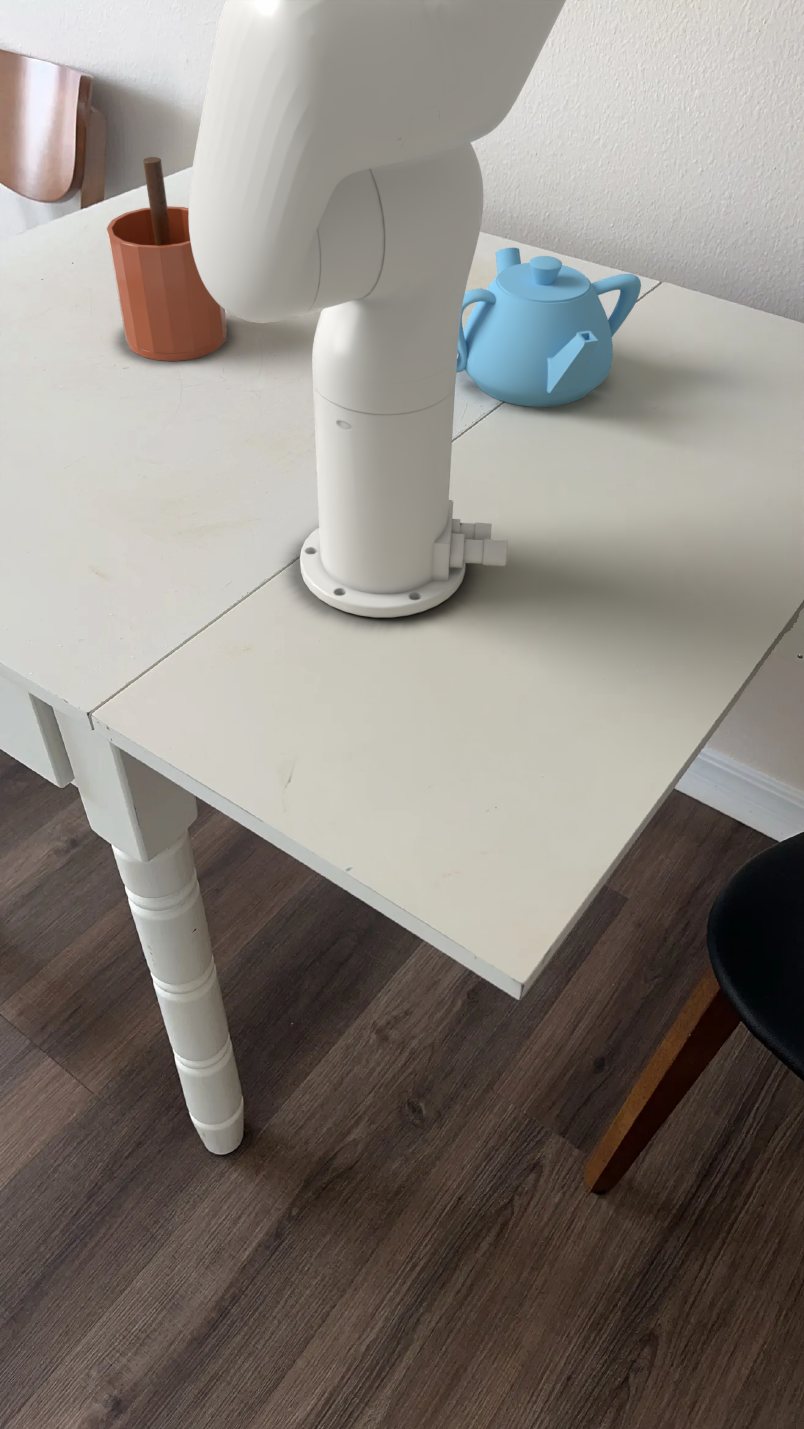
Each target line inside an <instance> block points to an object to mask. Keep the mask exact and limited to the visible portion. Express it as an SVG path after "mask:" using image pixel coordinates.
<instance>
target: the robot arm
mask: <svg viewBox="0 0 804 1429" xmlns="http://www.w3.org/2000/svg"><path fill="white" fill-rule="evenodd" d="M566 1H567V0H225V2H224V3H223V7H222V9H221V12H220V15H219V19H218V23H217V28H216V31H215V32H216V33H215V38H214V42H213V48H212V53H211V60H210V64H209V69H208V76H207V82H206V88H205V92H204V99H203V105H202V110H201V116H200V122H199V126H198V127H199V128H198V133H197V138H196V145H195V150H194V155H193V161H192V167H191V168H192V169H191V174H190V180H189V181H190V182H189V192H188V207H187V208H189V234H190V241H191V247H192V252H193V256H194V260H195V263H196V266H197V269H198V272H199V275H200V277H201V279H202V281H203V283H204V285H205V287H206V289H207V290H208V292H209V293H210V294H211V296H212V297H213V298H214V300H215V301H216V302H217V303H218V304H219V305H220V306H221V307H222V308H224V309H225V312H227V313H229V314H230V315H232V316H234V317H236V318H239V319H241V320H244V321H246V322H251V323H259V324H266V323H267V324H269V323H275V322H281V321H286V320H291V319H294V318H297V317H301V316H305V315H309V314H311V313H314V312H315V313H316V312H319V311H321V312H320V314H319V318H318V321H317V324H316V328H315V332H314V338H313V341H312V342H313V343H312V352H311V353H312V354H311V370H312V371H311V372H312V373H311V375H312V397H313V419H314V442H315V443H314V444H315V462H316V463H315V464H316V486H317V505H318V508H317V509H318V527H317V528H315V529H314V530H312V532H311V533H310V534H309V535H308V537H307V538H306V539H305V541H304V542H303V545H302V546H301V549H300V556H299V562H300V564H299V565H300V573H301V576H302V579H303V583H305V585H306V586H307V588H308V589H309V591H310V592H311V593H312V594H313V595H315V596H316V597H317V598H318V599H319V600H320V601H322V602H324V603H326V604H327V605H328V606H330V607H332V608H335V609H338V610H340V611H343V612H345V613H349V614H352V615H355V616H356V615H357V616H360V617H370V618H398V617H407V616H410V615H411V616H412V615H414V614H417V613H422V612H425V611H428V610H429V609H432V608H435V607H437V606H438V605H441V603H443V602H445V601H446V600H448V599H449V598H450V597H451V596H452V595H453V594H455V592H457V590H458V589H459V587H460V586H461V584H462V582H463V580H464V577H465V574H466V564H478V565H481V566H494V567H495V566H496V567H507V560H508V544H509V542H508V539H493V538H492V526H493V524H492V523H490V522H489V523H488V522H475V523H473V522H461V518H453V516H454V515H453V513H454V512H453V511H454V500H452V499H450V488H451V486H450V484H451V468H452V451H453V450H452V448H453V434H454V432H453V430H454V415H455V396H456V383H457V382H456V381H457V373H456V368H457V358H458V354H457V352H458V339H459V328H460V320H461V312H462V306H463V300H464V294H465V292H466V289H467V284H468V280H469V276H470V272H471V268H472V264H473V261H474V258H475V253H476V250H477V245H478V241H479V236H480V232H481V227H482V220H483V212H484V196H485V195H484V181H483V180H484V179H483V175H482V170H481V165H480V163H479V158H478V155H477V153H476V151H475V149H474V146H473V145H472V143H473V142H475V141H477V140H479V139H481V138H483V137H486V136H487V135H489V134H490V133H492V132H493V131H494V130H495V129H496V128H497V127H499V125H501V123H502V122H503V121H504V120H505V118H506V117H507V116H508V115H509V113H510V112H511V110H512V108H513V106H514V105H515V103H516V101H517V100H518V99H519V96H520V94H521V92H522V90H523V89H524V86H525V84H526V83H527V81H528V78H529V76H530V74H531V72H532V71H533V68H534V67H535V64H536V62H537V60H538V58H539V56H540V54H541V52H542V50H543V48H544V46H545V44H546V42H547V40H548V38H549V36H550V34H551V31H552V30H553V29H554V28H553V27H554V26H555V25H556V22H557V20H558V17H559V16H560V13H561V12H562V10H563V7H564V5H565V4H566ZM491 538H492V539H491Z"/></svg>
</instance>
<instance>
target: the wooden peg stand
mask: <svg viewBox="0 0 804 1429" xmlns="http://www.w3.org/2000/svg"><path fill="white" fill-rule="evenodd" d="M142 163H143V169H144V170H143V171H144V176H145V183H146V184H145V185H146V190H147V197H148V203H149V208H150V212H151V219H152V226H153V233H154V240H155V246H163V245H172V238H171V231H170V223H169V215H168V208H167V206H168V200H167V194H166V186H165V179H164V172H163V164H162V159H161V158H160V157H157V156H149V157H145V158H144V159H143V160H142Z"/></svg>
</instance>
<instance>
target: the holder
mask: <svg viewBox="0 0 804 1429" xmlns="http://www.w3.org/2000/svg"><path fill="white" fill-rule="evenodd" d="M167 208H168V215H169V223H170V231H171V238H172V245H163V246H155V240H154V233H153V226H152V219H151V212H150V207H142V208H138V209H135V210H131V211H127V212H124V213H122V214H120V215H119V216H117V217H114V218H113V219H112V220H110V222H109V223H108V225H107V227H106V233H107V240H108V247H109V251H110V258H111V262H112V269H113V275H114V281H115V285H116V286H115V287H116V291H117V298H118V304H119V309H120V315H121V321H122V326H123V332H124V335H125V340H126V345H127V347H128V348H129V349H130V351H132V352H133V353H134V354H137V355H138V356H139V357H143V358H146V359H150V360H155V361H164V362H176V361H177V362H180V361H189V360H193V359H197V358H201V357H204V356H207V355H209V354H211V353H213V352H216V351H217V350H218V349H220V348H221V347H222V346H223V345H224V343H225V342H226V340H227V336H228V334H227V328H228V325H227V318H226V317H227V316H226V310H225V309H224V308H222V307H221V306H220V305H219V304H218V303H217V302H216V301H215V300H214V298H213V297H212V296H211V294H210V293H209V292H208V290H207V289H206V287H205V285H204V283H203V281H202V279H201V277H200V275H199V272H198V269H197V266H196V263H195V260H194V256H193V252H192V247H191V241H190V234H189V207H185V206H172V205H171V206H170V205H167Z"/></svg>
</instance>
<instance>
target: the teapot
mask: <svg viewBox="0 0 804 1429" xmlns="http://www.w3.org/2000/svg"><path fill="white" fill-rule="evenodd" d="M495 260H496V262H495V264H496V273H497V274H496V277H495V278H494V279H493V280H492V281H490V283H489V284H488V286H487V287H486V288H485V289H484V288H474V289H470V290H467V291H465V294H464V300H463V306H462V312H461V320H460V328H459V339H458V352H457V368H456V374H457V373H462V372H463V371H465V372H466V374H467V375H468V376H469V378H470V379H471V380H472V381H473V383H474V384H475V385H476V386H477V387H478V388H479V389H480V390H481V391H482V392H484V394H486V395H488V396H490V397H492V398H493V399H496V400H499V401H500V402H501V401H502V402H504V403H507V404H512V405H517V406H520V407H521V406H522V407H531V408H549V407H558V406H563V405H568V404H571V403H574V402H577V401H579V400H581V399H583V398H584V397H586V396H587V395H589V394H590V393H591V392H593V391H594V390H596V388H598V387H599V386H600V385H601V384H602V383H603V382H604V381H605V379H606V378H607V377H608V375H609V373H610V371H611V369H612V365H613V357H614V356H613V355H614V348H613V347H614V346H613V337H614V336H615V334H616V333H617V332H618V330H619V329H620V327H621V326H622V325H623V323H624V322H625V321H626V319H627V318H628V316H629V315H630V313H631V311H633V309H634V307H635V305H636V303H637V301H638V299H639V296H640V293H641V289H642V282H641V279H640V277H639V276H638V275H636V274H633V273H621V274H615V275H612V276H608V277H606V278H602V279H599V280H597V281H594V282H591V280H590V279H589V278H588V277H587V276H586V274H584V273H583V272H581V271H579V270H577V268H576V269H575V268H573V267H571V266H568V265H563V261H561V260H560V259H559V258H558V257H557V258H556V257H555V256H551V255H539V256H535V257H532V258H531V259H529V262H522V260H521V253H520V248H518V247H505V248H501V249H499V250H497V251H495ZM618 290H619V296H618V299H617V302H616V304H615V306H614V308H613V310H612V312H611V314H610V315H609V317H608V315H607V313H606V310H605V308H604V305H603V304H602V301H601V299H600V297H599V296H600V295H604V294H606V293H609V292H613V291H618ZM474 303H475V304H474ZM472 304H474V306H473V308H472V310H471V312H470V313H469V315H468V318H467V320H466V322H465V326H464V328H463V314H464V311H465V310H466V308H468V306H470V305H472Z"/></svg>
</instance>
